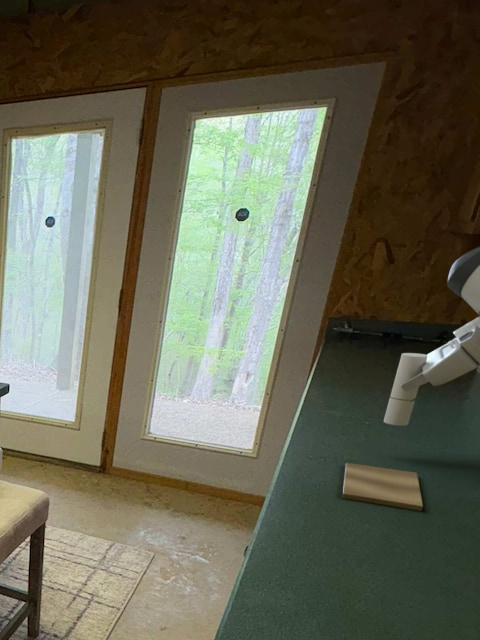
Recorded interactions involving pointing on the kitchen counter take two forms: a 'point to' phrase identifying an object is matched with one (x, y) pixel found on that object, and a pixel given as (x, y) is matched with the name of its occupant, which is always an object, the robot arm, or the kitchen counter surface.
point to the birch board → (382, 486)
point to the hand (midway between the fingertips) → (403, 385)
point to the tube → (399, 398)
